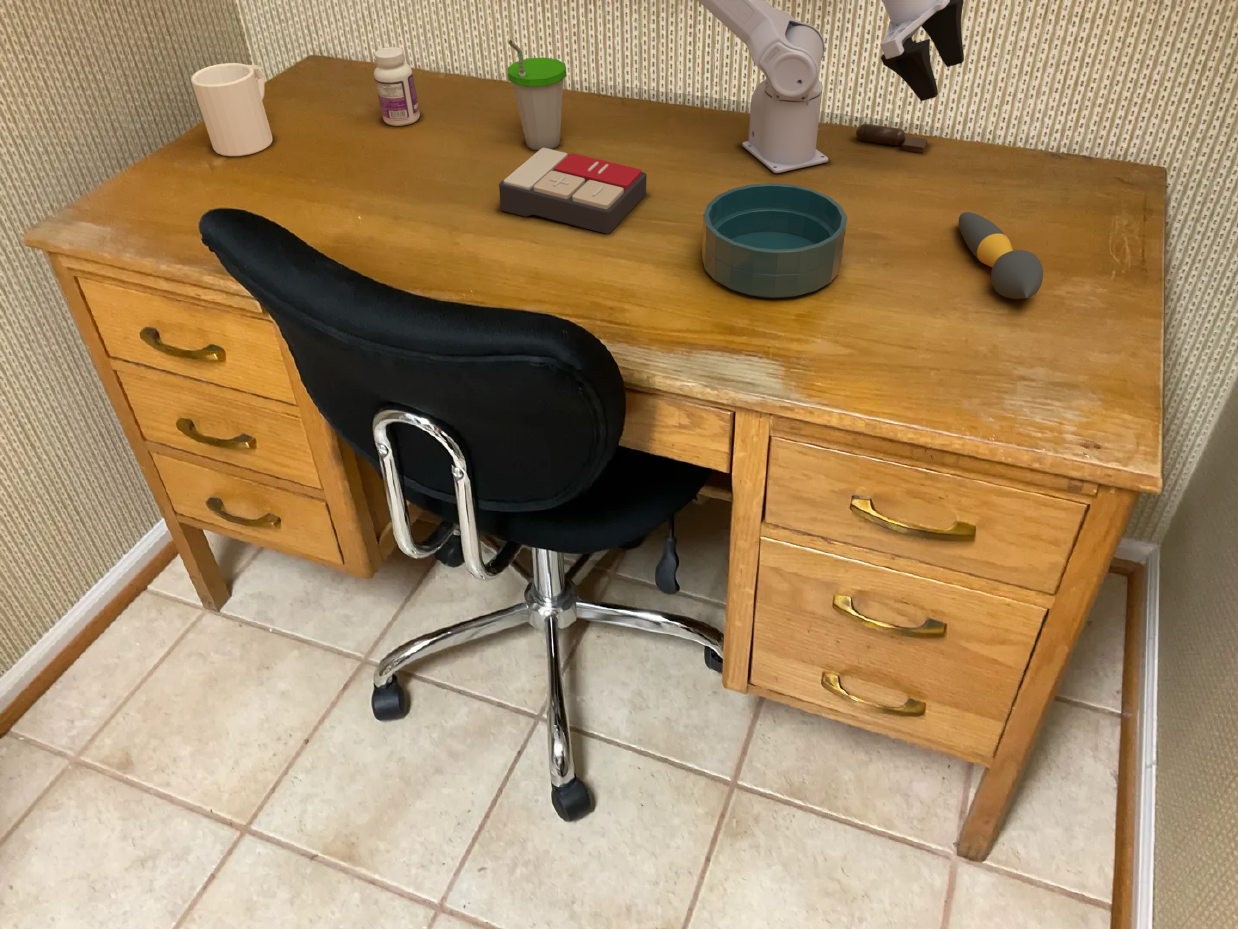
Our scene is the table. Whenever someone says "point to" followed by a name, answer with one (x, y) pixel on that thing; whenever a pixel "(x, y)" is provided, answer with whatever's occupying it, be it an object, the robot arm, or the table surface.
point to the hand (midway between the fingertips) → (942, 80)
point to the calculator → (573, 190)
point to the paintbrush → (1001, 257)
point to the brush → (890, 137)
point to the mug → (233, 107)
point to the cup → (538, 98)
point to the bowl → (773, 239)
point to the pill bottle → (395, 87)
